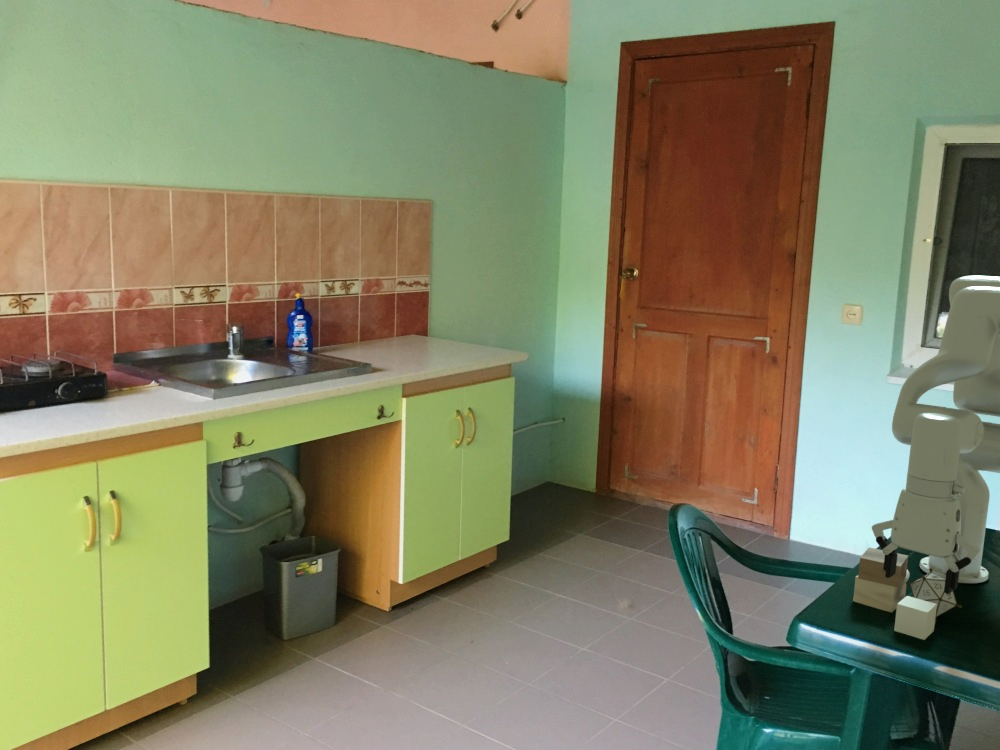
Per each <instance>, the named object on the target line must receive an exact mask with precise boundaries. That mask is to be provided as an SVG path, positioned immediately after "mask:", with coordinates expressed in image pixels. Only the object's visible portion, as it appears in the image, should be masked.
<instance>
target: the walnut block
mask: <svg viewBox="0 0 1000 750" xmlns="http://www.w3.org/2000/svg"><path fill="white" fill-rule="evenodd" d="M897 554H898V555H897V564H896V573H895V575H893V576H892V577H890V578H886V577H885V574H886V571H884V570H883V567H884V558H885V554H884V553H883V550H882V549H878V548H875V547H874V548H873V547H867V549H866V550H865V551H864V552H863V554H862V555H861V556H860V557H859V565H858V574H857V575H858V579H863V580H867V581H871V582H876V583H880V584H885V585H889V586H893V587H898V588H899V586H900V585H901V583H902V582H903V580H904V579H905V577H906V572H907V570H908V562H909V555H907V554H901V553H898V552H897Z"/></svg>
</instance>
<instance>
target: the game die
mask: <svg viewBox="0 0 1000 750" xmlns="http://www.w3.org/2000/svg"><path fill="white" fill-rule="evenodd" d="M929 570H930V573H926V574H925V575H922V576H921V577H920V578H918V579H916V580H914V581H912V582H911V583H910V582H909V581H907V582H905V583H906V586H909V587H910V590H911V591H910V592H911V594H912V597H913V598H917V599H921V600H924V601H928V602H931V603H935V604H937V608H936V616H935V623H937V621H938V619H937V617H939V616H941V615H942V614H945V613H946V612H948V611H950V610H952V609H954V608H955V607H957V608H962V605H961V604H958V603H957V598H956V595H955V592H954V591H955V590H953V591H952V592H951V593H950V594H946V593H945V592H944V588H945V580H946V579H945V578H943V577H941V576H939V575H937V574H935V573H932V570H933V569H932V568H930V569H929Z"/></svg>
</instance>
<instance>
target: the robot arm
mask: <svg viewBox="0 0 1000 750" xmlns="http://www.w3.org/2000/svg"><path fill="white" fill-rule="evenodd" d="M948 301H949V306H950V307H949V312H948V315H947V318H946V322H945V326H944V329H943V334H942V337H941V341H940V345H939V349H938V351H937V352H938V353H937V354H935V356H933V357H931V358H929V359H928V360H926V361H925V362H924V363H922V364H921V365H919V366H918V367H917V368H916V369H915V370H914V371H913V372H912V373H911V374H909V376H908V377H907V378H906V379H905V381H904V382H903V384H902V386H901V388H900V391H899V395H898V399H897V402H896V406H895V409H894V412H893V416H892V424H891V431H892V435H893V437H894V438H895V439H896V441H897V442H899V443H901V444H903V445H907V446H909V447H910V448H909V449H910V450H909V457H908V465H907V466H908V467H907V475H906V483H905V487H904V488H903V489H901V491H900V494H899V496H898V501H897V502H896V507H895V511H894V515H893V519H890V520H886V521H882V522H878V523H874V524H872V526H871V530H872V532H873V535H874V537H875V542H876V543H877V545H878V546H879V548H880V550H883V553H884V554H885V558H884V567H883V570H884V571H886V574H885V577H886V578H890V577H892V576H893V575H895V573H896V564H897V555H898V554H899V553H898V552H897V549H899V548H900V549H904V550H907V551H911V552H914V553H915V552H916V553H919V554H922V555H923V554H924V555H928V556H926V557H923V558H921V559H920V561H919V567H920V569H921V570H922V572H924V573H926V574H928V573H930V570H929V569H930V568H932V569H933V570H932V573H935V574H937V575H939V576H941V577H943V578H945V579H946V580H945V588H944V592H945V593H946V594H950V593H951V592H952V591H955V590H957V588H958V585H959V584H979V583H981V584H982V583H984V582H986V581H988V579H989V574H990V573H989V571H988V570H987V568H985V567H984V566H982V560H983V559H982V558H983V552H984V543H985V537H986V527H987V519H988V511H989V506H990V505H989V503H990V497H991V496H990V489H989V486H988V484H987V482H986V480H985V478H983V476H982V474H981V473H980V471H982V472H985V471H986V472H989V473H997V474H1000V423H996V422H995V423H994V422H989V421H982V419H981V418H980V416H979V415H982V416H983V415H984V416H991V417H999V418H1000V276H991V275H965V276H961V277H958V278H955V279H954V280H953V281H952V282H951V283H950V286H949V291H948ZM949 383H954V384H953V390H952V391H953V392H952V393H953V394H952V396H953V397H952V399H953V403H954V405H955V407H956V408H951V407H946V406H939V405H931V404H925V403H918V401H919V399H920V398H921V397H922V396H923V395H924V394H926V393H927V392H928V391H930V390H932V389H934V388H936V387H940V386H942V385H947V384H949ZM889 529H891V530H890V531H891V532H890V541H891V542H890V541H889V539H888V538H887V537H886V536H885V534H884V530H885V531H886V530H889ZM897 553H898V554H897Z"/></svg>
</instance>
